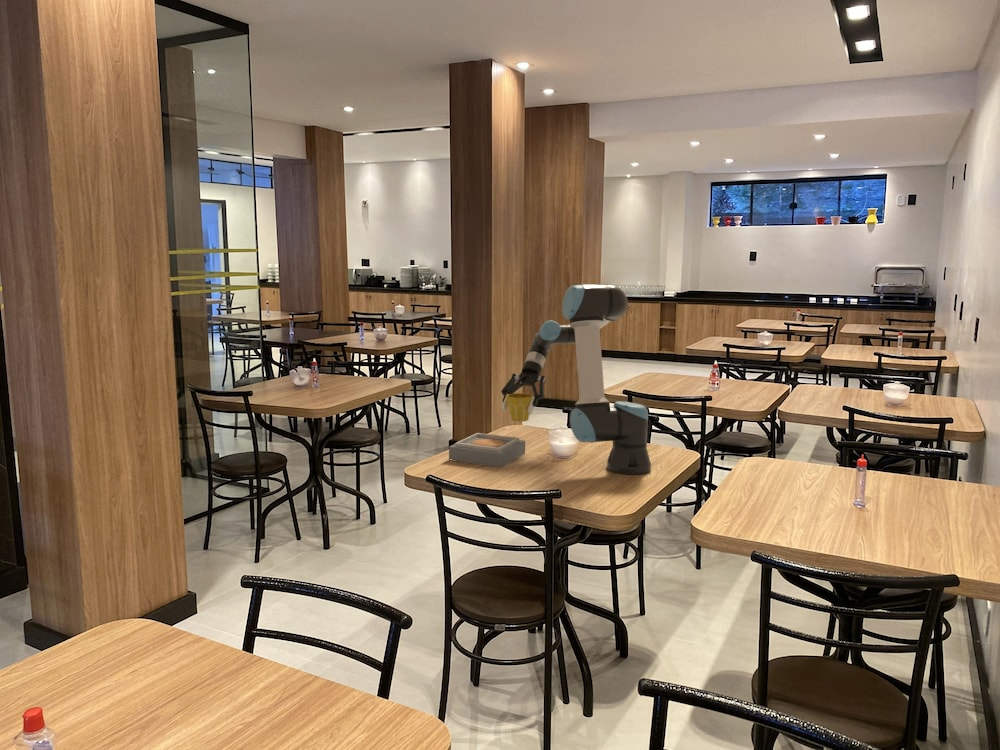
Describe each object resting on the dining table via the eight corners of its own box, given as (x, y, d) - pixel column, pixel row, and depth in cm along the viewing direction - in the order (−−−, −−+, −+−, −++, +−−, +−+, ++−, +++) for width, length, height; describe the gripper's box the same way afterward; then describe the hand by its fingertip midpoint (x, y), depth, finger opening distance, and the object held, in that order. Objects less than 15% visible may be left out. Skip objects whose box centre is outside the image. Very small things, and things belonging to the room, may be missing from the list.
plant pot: (502, 421, 279) (503, 396, 278) (510, 416, 289) (510, 392, 288) (529, 423, 276) (529, 398, 275) (535, 418, 286) (535, 393, 285)
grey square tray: (525, 453, 273) (525, 437, 272) (501, 467, 254) (501, 450, 253) (475, 447, 282) (475, 431, 281) (449, 460, 263) (448, 443, 262)
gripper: (562, 373, 289) (546, 419, 277) (510, 369, 299) (492, 413, 287) (557, 361, 283) (540, 407, 272) (504, 358, 294) (486, 402, 282)
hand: (516, 410), depth 280 cm, fingers closed on plant pot, 10 cm apart
